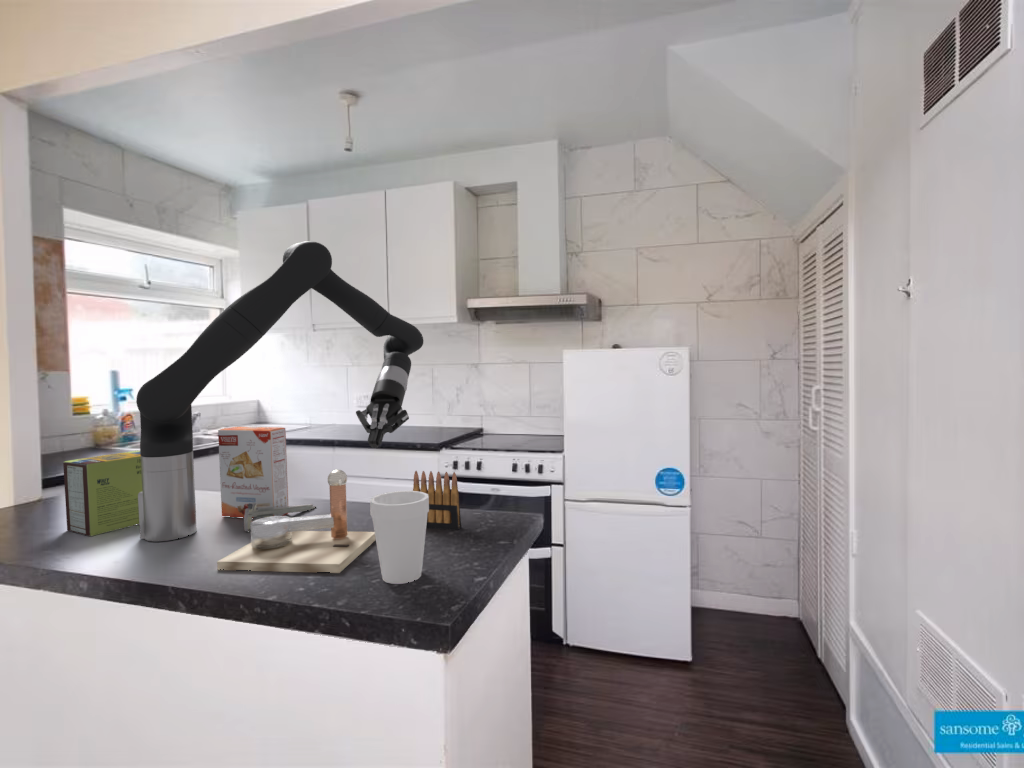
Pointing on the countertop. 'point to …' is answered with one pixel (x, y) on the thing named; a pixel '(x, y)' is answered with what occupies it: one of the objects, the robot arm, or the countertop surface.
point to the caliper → (269, 512)
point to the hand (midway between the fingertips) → (373, 445)
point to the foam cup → (400, 533)
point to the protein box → (102, 492)
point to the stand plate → (302, 553)
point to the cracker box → (252, 468)
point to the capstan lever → (304, 519)
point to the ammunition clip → (440, 501)
